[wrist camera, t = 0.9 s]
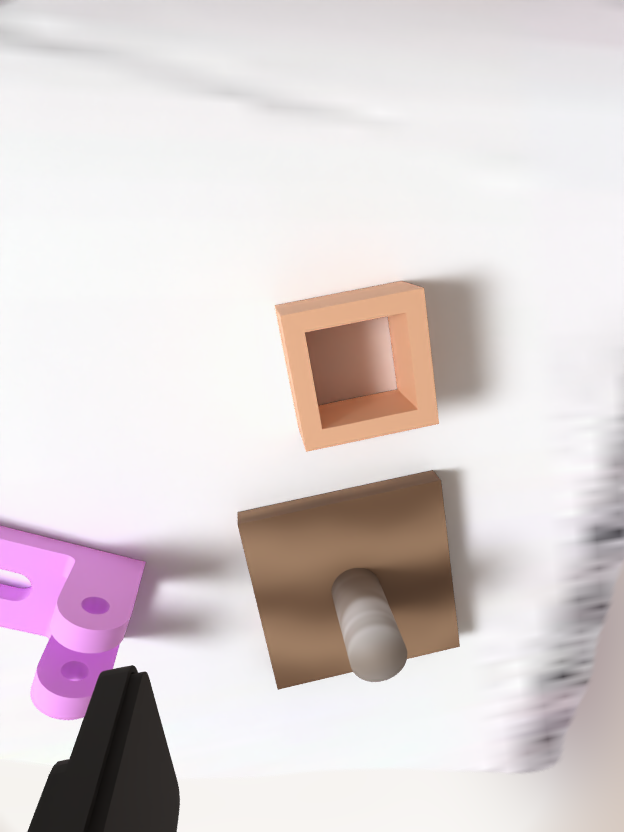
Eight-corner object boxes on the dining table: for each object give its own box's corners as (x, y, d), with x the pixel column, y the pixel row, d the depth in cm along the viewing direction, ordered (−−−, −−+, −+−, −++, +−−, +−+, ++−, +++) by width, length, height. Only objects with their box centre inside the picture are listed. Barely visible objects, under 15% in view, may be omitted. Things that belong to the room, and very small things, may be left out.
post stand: (237, 512, 35) (238, 585, 28) (432, 470, 35) (482, 530, 28) (276, 672, 39) (285, 772, 31) (451, 631, 39) (499, 719, 32)
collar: (274, 305, 31) (280, 316, 28) (401, 280, 32) (423, 287, 28) (298, 426, 34) (306, 451, 30) (416, 402, 34) (438, 423, 30)
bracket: (145, 560, 35) (125, 637, 29) (120, 636, 36) (95, 725, 30) (-88, 502, 32) (-171, 572, 26) (-106, 586, 34) (-189, 673, 27)
